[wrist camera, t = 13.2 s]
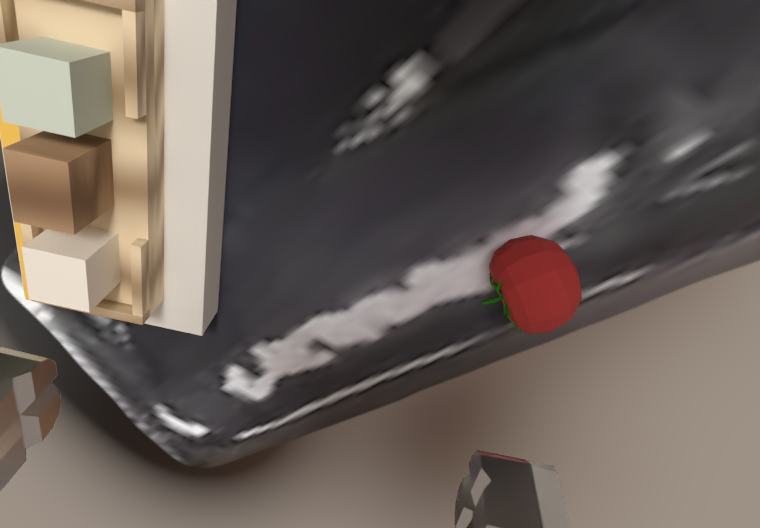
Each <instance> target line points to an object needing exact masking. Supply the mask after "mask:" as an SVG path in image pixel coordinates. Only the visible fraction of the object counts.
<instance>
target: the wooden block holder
mask: <svg viewBox="0 0 760 528" xmlns="http://www.w3.org/2000/svg"><path fill="white" fill-rule="evenodd" d="M40 36H43V37H48V38H52V39H56V40H61V41H65V42H69V43H74V44H78V45H83V46H87V47H91V48H96V49H100V50H105V51H109V52H110V57H111V79H112V101H113V120H112V121H110V122H108V123H106V124H104V125H101V126H99V127H97V128H95V129H93V130H91V131H89V132H87V133H85V134H83V135H80V136H78V137H76V138H73V137H69V136H64V135H60V134H55V133H51V132H46V131H42V130H37V129H33V128H29V127H24V126H20V125H19V132H20V140H21V141H19V142H16V143H14V144H11V145H9V146H7V147H4V148H3V154H4V161H5V167H6V174H7V180H8V187H9V193H10V200H11V206H12V213H13V219H14V222H18V223H20V225H21V232H22V239H23V245H24V244H26V243H27V242H29V241H30V240H32V239H33V238H35V237H36V236H38V235H39V234H41V233H42V232H44V231H45V230H47V229H50V230H54V231H59V232H63V233H68V234H72V235H75V234H77V233H78V232H79V231H81V230H82V229H83V228H85V227H86V226H90V227H95V228H99V229H104V230H108V231H113V232H117V233H118V235H119V257H120V280H121V281H120V282H119V283H118V284H117V285H116V286H115V287H114V288H113V289H112V290H111V291H110V292H109V293H108V294H107V295H106V296H105V297H104V298H103V299H102V300H101V301H100V302H99V303H98V304H97V305H96V306H95V307H94V308H93V309H92V310H91V311H90V312H85V311H81V312H85V313H90V314H94V315H99V316H104V317H108V318H113V319H117V320H122V321H127V322H131V323H136V324H140V325H143V324H144V323H145V322H146V320H147V319H148V318H149V317H150V315H151V314H152V313H153V312H154V311H155V309H156V308H157V307H158V306H159V304H160V303H161V302H162V301H163V300H164V0H0V43H6V42H12V41H17V40H23V39H28V38H34V37H40ZM32 301H35V300H32ZM35 302H39V301H35ZM39 303H44V302H39ZM44 304H48V303H44ZM48 305H53V304H48ZM53 306H57V305H53ZM58 307H62V306H58ZM62 308H67V307H62ZM67 309H71V308H67ZM71 310H76V309H71ZM76 311H80V310H76Z"/></svg>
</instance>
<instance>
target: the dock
mask: <svg viewBox="0 0 760 528" xmlns="http://www.w3.org/2000/svg"><path fill="white" fill-rule="evenodd" d="M236 6H237V0H164V300H163V301H162V302H161V303H160V304H159V306H158V307H157V308H156V309H155V311H154V312H153V313H152V314H151V315H150V317H149V318H148V319H147V320H146V322H145V324H150V325H154V326H159V327H164V328H168V329H173V330H177V331H182V332H187V333H191V334H196V335H201V336H202V335H203V333H204V332H205V330H206V329H207V327H208V326H209V324H210V322H211V321H212V319H213V318H214V316H215V314H216V313H217V311H218V299H219V283H220V266H221V250H222V234H223V218H224V201H225V185H226V169H227V153H228V136H229V120H230V104H231V88H232V71H233V55H234V39H235V23H236ZM0 139H1V145H2V151H3V148H4V147H7V146H9V145H11V144H14V143H16V142H19V141H21V140H20V132H19V125H15V124H11V123H6V122H3V118H2V112H1V105H0ZM3 158H4V154H3ZM4 164H5V161H4ZM5 171H6V167H5ZM6 177H7V174H6ZM7 183H8V180H7ZM8 190H9V187H8ZM9 197H10V193H9ZM10 203H11V200H10ZM11 210H12V206H11ZM12 216H13V213H12ZM13 223H14V229H15V236H16V242H17V249H18V255H19V262H20V268H21V275H22V281H23V288H24V294H25V298H26V299H28V300H30V299H29V295H28V288H27V281H26V274H25V267H24V261H23V254H22V247H21V246H23V239H22V232H21V225H20V223H18V222H14V219H13Z"/></svg>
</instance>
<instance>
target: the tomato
mask: <svg viewBox="0 0 760 528" xmlns="http://www.w3.org/2000/svg"><path fill="white" fill-rule="evenodd" d="M489 269H490V272H491V273H490V282H491V284H492V285H493V286H494V287H495V288H496V289H495V290H496V292H497V293H498V295H499V297H497V298H494V299H491V300H488V301H484V302H482V304H483V305H486V304H490V303H494V302H497V301H500V300H501V302H502V304H503V306H504V310H503V313H504V315H506V316H508V319H509V320H510V321H511V322H512V323H513V325H514V326H515V327H516V328H517V329H518V330H519V332H520V333H521V331H520V330H522V331H524V332H526V333H528V334H537V333H546V332H551V331H553V330H555V329H556V328H558V327H559V326H561V325H562V324H564V323H566V322H567V321H569V320H570V319H572V317H573V315H574V313H575V311H576V309H577V307H578V305H579V303H580V301H581V299H582V297H581V287H580V279H579V275H578V271H577V269H576V267H575V265H574V263H573V261H572V260H571V258H570V257H569V256H568V255H567V254H566V253H565V251H564V250H563V249H562V248H561V247H560V246H559V245H558V244H557V243H555V242H554V241H550V240H547V239H543V238H540V237H536V236H533V235H530V236H525V237H520V238H516V239H511V240H509V241H508V242H507V243H505V244H504V245H503V246H502V247H500V248H499V249H498V250H497V251H495V253H494V255H493V258H492V260H491V263H490V266H489ZM491 276H492V277H491ZM492 279H493V281H492ZM506 312H507V313H506Z"/></svg>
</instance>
